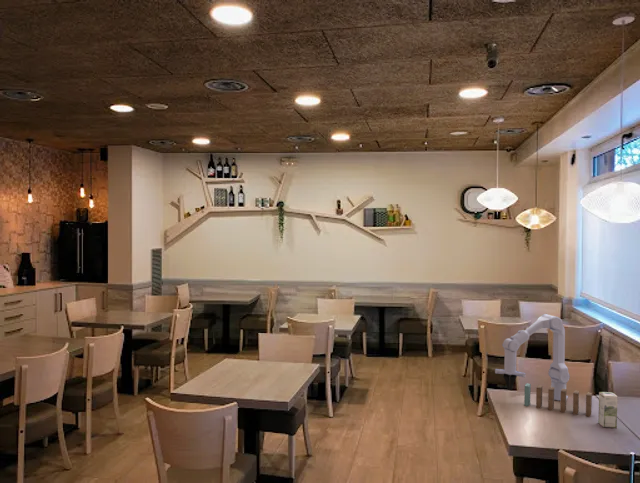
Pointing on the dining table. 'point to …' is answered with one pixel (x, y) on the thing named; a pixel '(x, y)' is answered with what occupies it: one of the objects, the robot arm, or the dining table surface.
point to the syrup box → (608, 409)
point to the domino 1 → (527, 394)
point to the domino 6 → (588, 404)
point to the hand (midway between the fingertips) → (509, 389)
